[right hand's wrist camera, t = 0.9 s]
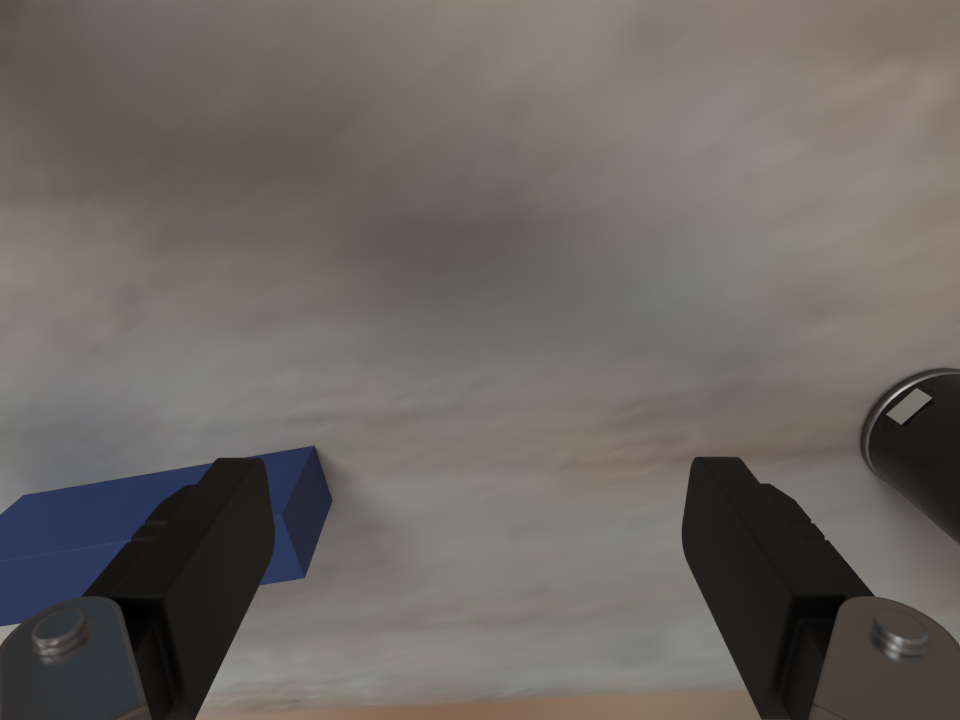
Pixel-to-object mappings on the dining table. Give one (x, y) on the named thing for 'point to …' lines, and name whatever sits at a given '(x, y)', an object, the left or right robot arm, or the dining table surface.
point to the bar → (118, 515)
